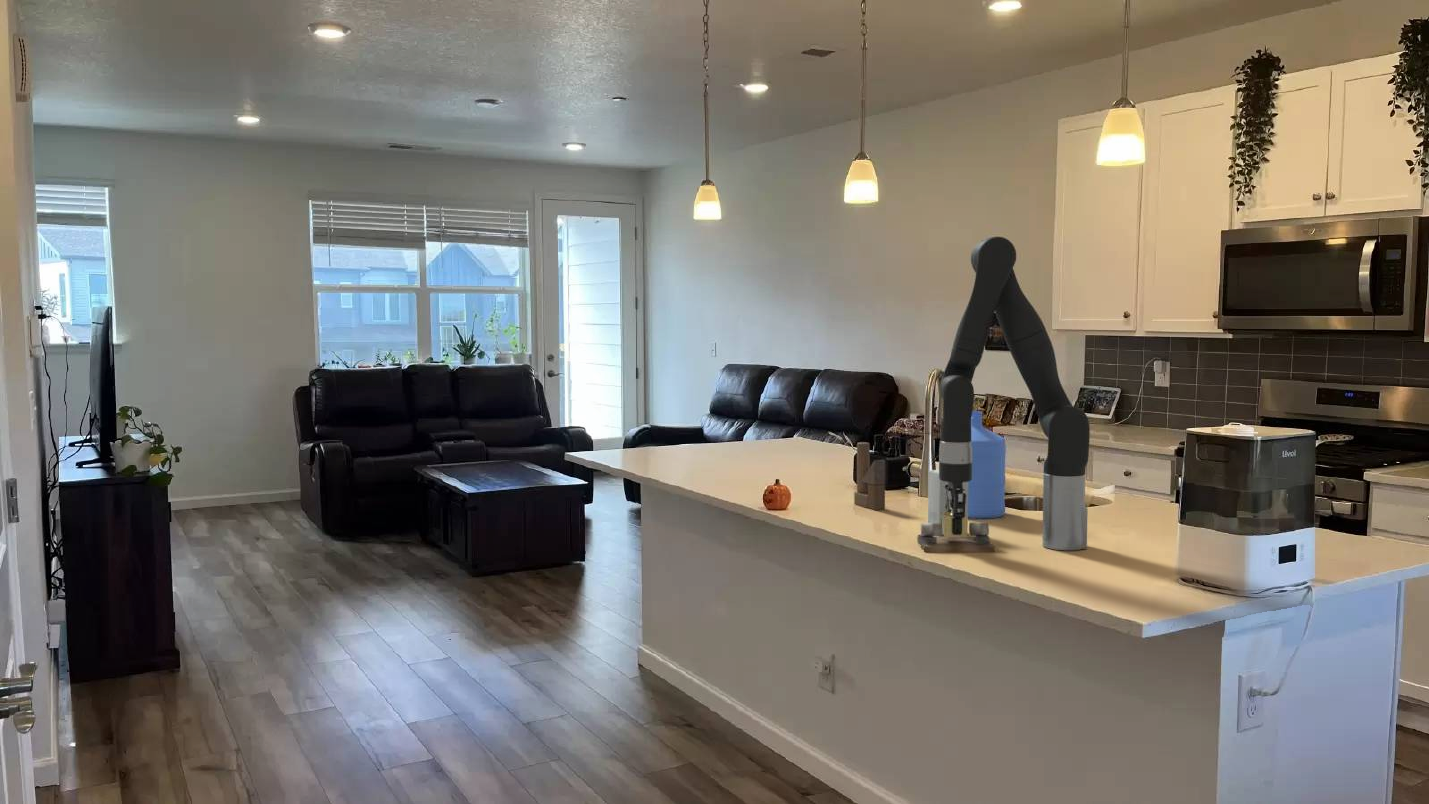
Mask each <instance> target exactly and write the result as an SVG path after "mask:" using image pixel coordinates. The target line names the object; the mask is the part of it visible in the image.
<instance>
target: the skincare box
mask: <svg viewBox="0 0 1429 804" xmlns="http://www.w3.org/2000/svg"><path fill="white" fill-rule="evenodd" d="M945 485H948V482H945V481H942V480H940V479H939V469H929V470H928V492H927V493H928V494H927V495H928V497H927V499H928V500H927V502H928V503H927V523H941V524H942V512H947V510H946V508H945V506H946V499H945ZM962 485H963V489H965V493H966V504H965V514H966V515H967V529H969V524H968V521H969V520H968V519H969V518H968V482H963V484H962ZM958 512H960V509H958ZM968 531H969V530H967V534H968V533H969V532H968ZM942 536H944V535H943V533H942Z"/></svg>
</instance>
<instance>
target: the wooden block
mask: <svg viewBox="0 0 1429 804" xmlns="http://www.w3.org/2000/svg"><path fill="white" fill-rule="evenodd" d="M870 453H871V452H870V443H869V442H864V441H863V442H861V441H860V442H857V444H856V491H854V493H853V495H854V499H853V500H854V503H853V504H855V505H856V506H859V507H864V508H866V507H867V509H869V510H872V509H873V511H881V509H882V510H885V509H886V486H885V485H886V459H876V460H873V462H872V463H871V464H870V461H871V460H870V456H871V455H870Z"/></svg>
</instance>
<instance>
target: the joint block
mask: <svg viewBox="0 0 1429 804" xmlns="http://www.w3.org/2000/svg"><path fill="white" fill-rule="evenodd" d="M956 512H957V511H956ZM951 515H952V511H951V512H942V533H943V535H942V536H943V537H968V533H967V531H968V528H967V515H966V514H965V517H964V518H963V519H962V534H961V535H953V534H952V517H951Z"/></svg>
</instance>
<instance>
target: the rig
mask: <svg viewBox="0 0 1429 804" xmlns="http://www.w3.org/2000/svg"><path fill="white" fill-rule="evenodd" d="M968 531H969V532H968V533H969V536H967V537H945V536H943V535H942V524H941V523H928V522H927V523H925V522H924V523H923V522H921V523H920V534H918V535H917V538H916V539H917V541H918V542H917V544H918V545H919V544H920V545H921V546H920V545H919V546H920V548H921V547H922V548H921V549H922V551H923V550H924V551H923V552H924V553H995V552H996V551H995V545H994V544H992V542H991V541H990V537H989V535H990V534H989V533H990V526H989V523H988V522H969V524H968Z"/></svg>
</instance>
